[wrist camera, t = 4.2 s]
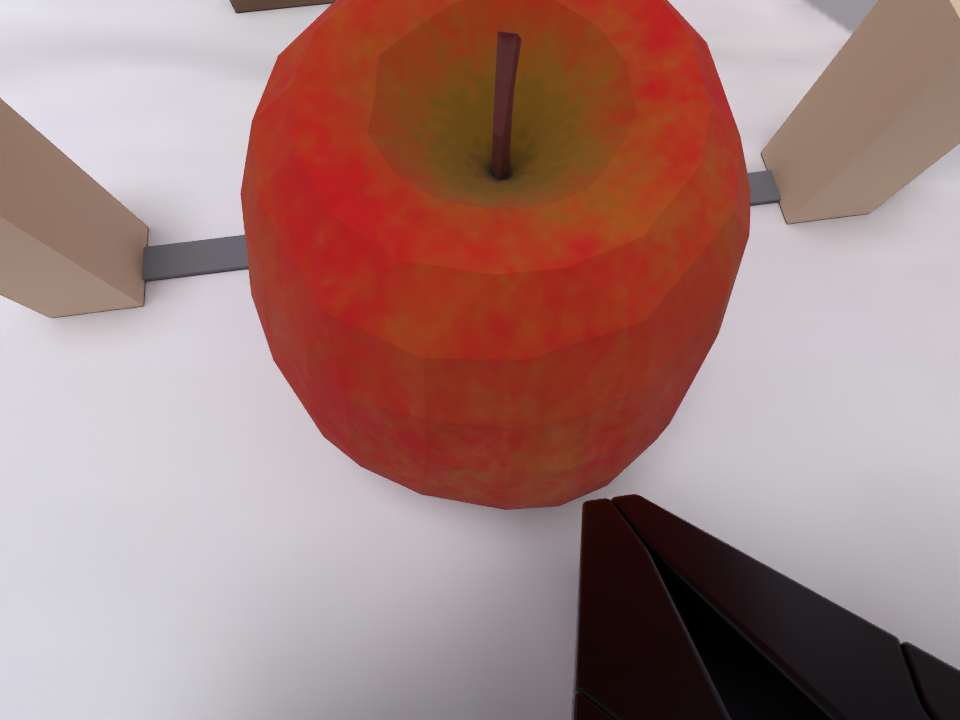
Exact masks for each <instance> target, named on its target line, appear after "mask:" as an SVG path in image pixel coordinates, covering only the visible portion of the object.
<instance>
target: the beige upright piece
mask: <svg viewBox="0 0 960 720" xmlns="http://www.w3.org/2000/svg"><path fill="white" fill-rule="evenodd" d="M958 144H960V0H879V1H878V2H877V3H876V5H875V6H874V7H873V8H872V10H871V11H870V13H869V14H868V15H867V16H866V17H865V19H864V20H863V21H862V23H861V24H860V25H859V27H858V28H857V29H856V30H855V32H854V33H853V34H852V36H851V37H850V38H849V39H848V41H847V42H846V43H845V45H844V46H843V47H842V49H841V50H840V51H839V52H838V54H837V55H836V56H835V58H834V59H833V60H832V61H831V63H830V64H829V65H828V67H827V68H826V69H825V70H824V72H823V73H822V74H821V76H820V77H819V78H818V80H817V81H816V82H815V83H814V85H813V86H812V87H811V89H810V90H809V91H808V92H807V94H806V95H805V96H804V98H803V99H802V100H801V101H800V103H799V104H798V105H797V107H796V108H795V109H794V111H793V112H792V113H791V114H790V116H789V117H788V118H787V120H786V121H785V122H784V123H783V125H782V126H781V127H780V129H779V130H778V131H777V133H776V134H775V135H774V136H773V138H772V139H771V140H770V142H769V143H768V144H767V145H766V147H765V148H764V149H763V151H762V152H761V154H762V157H763V159H764V162H765V165H766V168H767V170H768V171H761V172H753V173H747V175H748V180H749V185H750V190H751V199H750V205H757V204H765V203H773V202H779V203H780V206H781V209H782V211H783V214H784V217H785V220H786V222H787V224H790V223H798V222H806V221H814V220H821V219H829V218H837V217H845V216H853V215H861V214H868V213H871V212H872V211H873V210H875V209H876V208H877V207H878V206H880V205H881V204H882V203H884V202H885V201H886V200H887V199H889V198H890V197H891V196H893V195H894V194H895V193H896V192H898V191H899V190H900V189H902V188H903V187H904V186H905V185H907V184H908V183H909V182H911V181H912V180H913V179H915V178H916V177H917V176H918V175H920V174H921V173H922V172H924V171H925V170H926V169H927V168H929V167H930V166H931V165H933V164H934V163H935V162H936V161H938V160H939V159H940V158H942V157H943V156H944V155H945V154H947V153H948V152H949V151H951V150H952V149H953V148H954V147H956V146H957V145H958ZM147 235H148V226H146V225H145V224H144V223H143V222H142V221H141V220H140V219H138V218H137V217H136V216H135V215H134V214H133V213H132V212H130V211H129V210H128V209H127V208H126V207H125V206H124V205H122V204H121V203H120V202H119V201H118V200H117V199H116V198H114V197H113V196H112V195H111V194H110V193H109V192H107V191H106V190H105V189H104V188H103V187H102V186H101V185H99V184H98V183H97V182H96V181H95V180H94V179H93V178H91V177H90V176H89V175H88V174H87V173H86V172H85V171H83V170H82V169H81V168H80V167H79V166H78V165H77V164H75V163H74V162H73V161H72V160H71V159H70V158H68V157H67V156H66V155H65V154H64V153H63V152H62V151H60V150H59V149H58V148H57V147H56V146H55V145H54V144H52V143H51V142H50V141H49V140H48V139H47V138H46V137H44V136H43V135H42V134H41V133H40V132H39V131H37V130H36V129H35V128H34V127H33V126H32V125H31V124H29V123H28V122H27V121H26V120H25V119H24V118H23V117H21V116H20V115H19V114H18V113H17V112H16V111H15V110H13V109H12V108H11V107H10V106H9V105H8V104H7V103H5V102H4V101H3V100H2V99H1V98H0V295H2V296H4V297H6V298H8V299H10V300H13V301H15V302H17V303H19V304H21V305H23V306H26V307H28V308H30V309H32V310H34V311H36V312H39V313H41V314H43V315H45V316H47V317H49V318H53V317H61V316H68V315H76V314H84V313H92V312H100V311H108V310H116V309H123V308H131V307H139V306H143V305H144V287H145V281H152V280H160V279H168V278H175V277H183V276H191V275H199V274H207V273H215V272H223V271H231V270H239V269H247V268H249V267H248V257H247V248H246V239H245V235H240V236H232V237H224V238H216V239H208V240H199V241H191V242H183V243H175V244H167V245H159V246H151V247H147Z"/></svg>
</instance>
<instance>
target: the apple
mask: <svg viewBox="0 0 960 720" xmlns="http://www.w3.org/2000/svg"><path fill="white" fill-rule="evenodd" d="M750 199H751V190H750V185H749V180H748V175H747V169H746V164H745V159H744V154H743V148H742V143H741V138H740V134H739V131H738V129H737V126H736V123H735V120H734V117H733V115H732V112H731V109H730V106H729V104H728V101H727V98H726V95H725V92H724V90H723V87H722V84H721V81H720V78H719V76H718V73H717V70H716V67H715V64H714V62H713V59H712V56H711V53H710V51H709V48H708V45H707V42H706V41H705V40H704V39H703V38H702V37H701V36H700V35H699V34H698V33H697V32H696V30H695V29H694V28H693V27H692V26H691V25H690V24H689V23H688V22H687V21H686V20H685V19H684V18H683V17H682V15H681V14H680V13H679V12H678V11H677V10H676V9H675V8H674V7H673V6H672V5H671V4H670V3H669V1H668V0H336V1H335V2H334V3H333V4H332V5H331V6H330V7H328V8H327V9H326V10H325V11H324V12H323V13H322V14H321V15H320V16H319V17H318V18H317V19H316V20H315V21H314V22H313V23H312V24H311V25H310V26H309V27H308V28H307V29H306V30H305V31H303V32H302V33H301V34H300V35H299V36H298V37H297V38H296V39H295V40H294V41H293V42H292V43H291V44H290V45H289V46H288V47H287V48H286V49H285V50H284V51H283V52H282V53H281V54H279V55H278V58H277V60H276V63H275V65H274V68H273V70H272V73H271V75H270V78H269V80H268V83H267V85H266V88H265V90H264V93H263V95H262V98H261V100H260V103H259V105H258V107H257V110H256V112H255V115H254V117H253V120H252V124H251V131H250V137H249V144H248V150H247V156H246V163H245V169H244V175H243V182H242V188H241V201H242V211H243V220H244V229H245V239H246V248H247V257H248V267H249V276H250V286H251V295H252V298H253V301H254V303H255V306H256V309H257V312H258V315H259V318H260V321H261V324H262V327H263V330H264V333H265V336H266V339H267V342H268V345H269V348H270V351H271V354H272V357H273V360H274V361H275V363H276V365H277V366H278V368H279V369H280V371H281V372H282V374H283V375H284V377H285V378H286V380H287V381H288V383H289V384H290V386H291V387H292V389H293V391H294V392H295V394H296V395H297V397H298V398H299V400H300V401H301V403H302V404H303V406H304V407H305V409H306V410H307V412H308V414H309V415H310V417H311V418H312V420H313V421H314V423H315V424H316V426H317V427H318V429H319V430H320V432H321V433H322V435H323V436H324V437H325V438H326V439H327V440H329V441H330V442H331V443H332V444H334V445H335V446H336V447H337V448H339V449H340V450H341V451H342V452H343V453H345V454H346V455H347V456H348V457H350V458H351V459H352V460H353V461H355V462H356V463H357V464H358V465H360V466H361V467H363V468H365V469H367V470H370V471H372V472H374V473H376V474H378V475H381V476H383V477H385V478H387V479H389V480H391V481H394V482H396V483H398V484H400V485H402V486H405V487H407V488H409V489H411V490H413V491H415V492H418V493H420V494H422V495H428V496H433V497H439V498H444V499H450V500H455V501H461V502H466V503H472V504H477V505H483V506H488V507H494V508H499V509H505V510H507V509H523V508H538V507H553V506H560V505H562V504H565V503H567V502H569V501H572V500H574V499H576V498H579V497H581V496H583V495H586V494H588V493H590V492H593V491H595V490H597V489H600V488H602V487H604V486H607V485H608V484H609V483H610V482H611V481H612V480H613V479H615V478H616V477H617V476H618V475H619V474H620V473H621V472H622V471H623V470H624V469H625V468H626V467H627V466H629V465H630V464H631V463H632V462H633V461H634V460H635V459H636V458H637V457H638V456H639V455H640V454H641V453H643V452H644V451H645V450H646V449H647V448H648V447H649V446H650V445H651V444H652V443H653V442H654V441H655V440H656V439H657V438H658V437H659V435H660V434H661V433H662V432H663V431H664V430H665V428H666V427H667V426H668V425H669V424H670V422H671V420H672V418H673V416H674V415H675V413H676V411H677V409H678V407H679V405H680V404H681V402H682V400H683V398H684V396H685V394H686V393H687V391H688V389H689V387H690V385H691V383H692V382H693V380H694V378H695V376H696V374H697V372H698V371H699V369H700V367H701V365H702V363H703V361H704V360H705V358H706V356H707V354H708V352H709V350H710V349H711V347H712V345H713V343H714V341H715V339H716V338H717V335H718V333H719V330H720V328H721V324H722V321H723V318H724V315H725V312H726V308H727V305H728V302H729V299H730V295H731V292H732V289H733V286H734V282H735V279H736V276H737V273H738V270H739V266H740V263H741V260H742V257H743V253H744V250H745V247H746V244H747V241H748V237H749V229H750Z"/></svg>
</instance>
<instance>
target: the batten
mask: <svg viewBox="0 0 960 720" xmlns="http://www.w3.org/2000/svg"><path fill="white" fill-rule="evenodd" d="M335 1H336V0H230V2H231V4H232V6H233V8H234V10H235V12H245V11H254V10H264V9H273V8H283V7H292V6H302V5H311V4H321V3H331V2H335Z"/></svg>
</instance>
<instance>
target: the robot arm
mask: <svg viewBox="0 0 960 720" xmlns="http://www.w3.org/2000/svg"><path fill="white" fill-rule="evenodd" d="M573 693H574V695H573V699H572V719H571V720H960V670H958V669H956V668H955V667H953V666H951V665H949V664H947V663H945V662H943V661H942V660H940V659H938V658H936V657H934V656H933V655H931V654H929V653H927V652H925V651H923V650H922V649H920V648H918V647H916V646H914V645H912V644H911V643H909V642H902V643H901V644H900V641H899V639H898V638H897V637H896V636H894V635H892V634H890V633H888V632H887V631H885V630H883V629H881V628H879V627H877V626H876V625H874V624H872V623H870V622H868V621H867V620H865V619H863V618H861V617H859V616H858V615H856V614H854V613H852V612H850V611H848V610H847V609H845V608H843V607H841V606H839V605H838V604H836V603H834V602H832V601H830V600H828V599H827V598H825V597H823V596H821V595H819V594H818V593H816V592H814V591H812V590H810V589H809V588H807V587H805V586H803V585H801V584H799V583H798V582H796V581H794V580H792V579H790V578H789V577H787V576H785V575H783V574H781V573H779V572H778V571H776V570H774V569H772V568H770V567H769V566H767V565H765V564H763V563H761V562H759V561H758V560H756V559H754V558H752V557H750V556H749V555H747V554H745V553H743V552H741V551H740V550H738V549H736V548H734V547H732V546H730V545H729V544H727V543H725V542H723V541H721V540H720V539H718V538H716V537H714V536H712V535H710V534H709V533H707V532H705V531H703V530H701V529H700V528H698V527H696V526H694V525H692V524H691V523H689V522H687V521H685V520H683V519H681V518H680V517H678V516H676V515H674V514H672V513H671V512H669V511H667V510H665V509H663V508H661V507H660V506H658V505H656V504H654V503H652V502H651V501H649V500H647V499H645V498H643V497H642V496H639V495H636V494H632V495H625V496H618V497H613V498H612V499H611V500H609V499H606V498H604V499H597V500H590V501H586V502H584V503H583V507H582V527H581V547H580V567H579V587H578V608H577V628H576V648H575V668H574V688H573Z"/></svg>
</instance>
